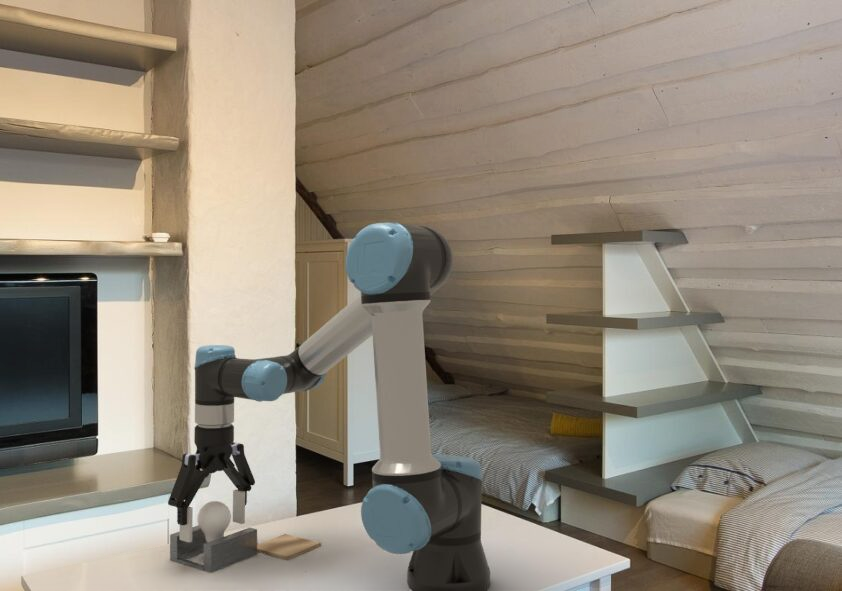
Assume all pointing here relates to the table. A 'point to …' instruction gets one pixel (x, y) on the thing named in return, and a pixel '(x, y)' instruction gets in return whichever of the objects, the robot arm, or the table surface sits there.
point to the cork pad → (286, 546)
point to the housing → (214, 549)
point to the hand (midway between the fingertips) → (213, 531)
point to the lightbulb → (214, 520)
